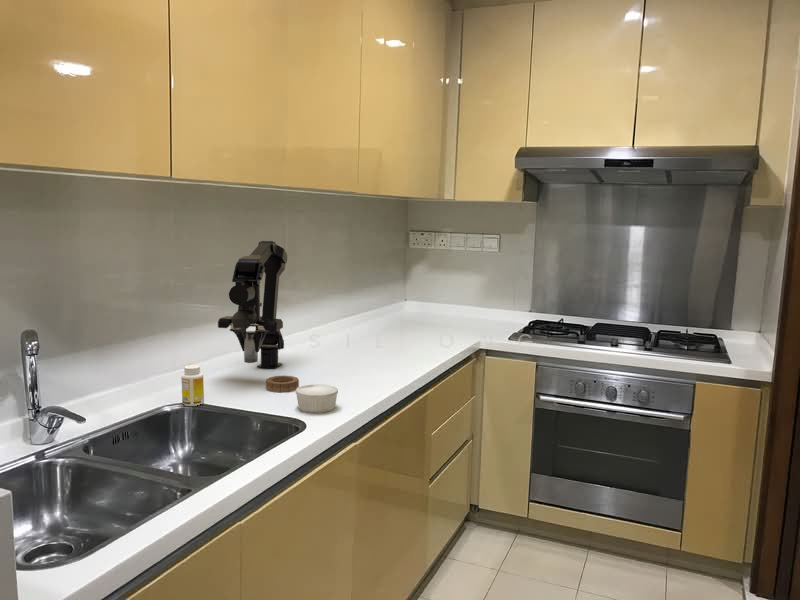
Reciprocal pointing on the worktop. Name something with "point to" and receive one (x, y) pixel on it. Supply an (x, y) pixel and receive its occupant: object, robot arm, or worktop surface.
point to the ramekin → (316, 398)
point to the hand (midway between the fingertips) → (250, 351)
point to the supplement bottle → (192, 386)
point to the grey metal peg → (250, 347)
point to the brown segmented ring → (282, 383)
